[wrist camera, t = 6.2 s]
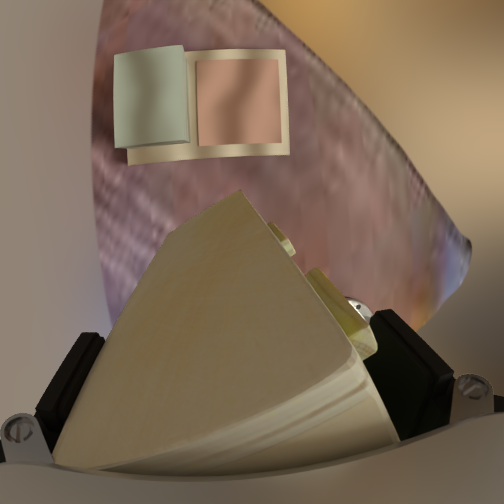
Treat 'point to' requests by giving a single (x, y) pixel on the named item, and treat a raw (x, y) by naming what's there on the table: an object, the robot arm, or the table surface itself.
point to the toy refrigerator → (228, 362)
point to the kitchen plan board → (200, 104)
